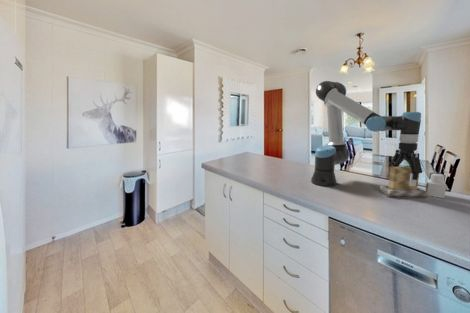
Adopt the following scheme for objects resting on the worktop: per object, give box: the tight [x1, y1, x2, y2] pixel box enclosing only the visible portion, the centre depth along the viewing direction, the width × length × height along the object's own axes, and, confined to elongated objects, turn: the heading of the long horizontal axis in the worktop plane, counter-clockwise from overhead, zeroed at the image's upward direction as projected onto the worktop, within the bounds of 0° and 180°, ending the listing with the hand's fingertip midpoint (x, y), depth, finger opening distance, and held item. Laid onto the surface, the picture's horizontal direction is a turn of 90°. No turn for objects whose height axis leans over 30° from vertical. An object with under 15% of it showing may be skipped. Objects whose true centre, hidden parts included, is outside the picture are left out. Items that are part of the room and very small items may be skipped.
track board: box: [378, 185, 427, 199], centre depth 116 cm, size 18×9×4 cm, turn 85°
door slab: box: [387, 166, 420, 190], centre depth 115 cm, size 12×4×14 cm, turn 85°
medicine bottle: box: [425, 172, 447, 199], centre depth 113 cm, size 7×7×12 cm
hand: (403, 181), depth 115 cm, fingers open, 13 cm apart
